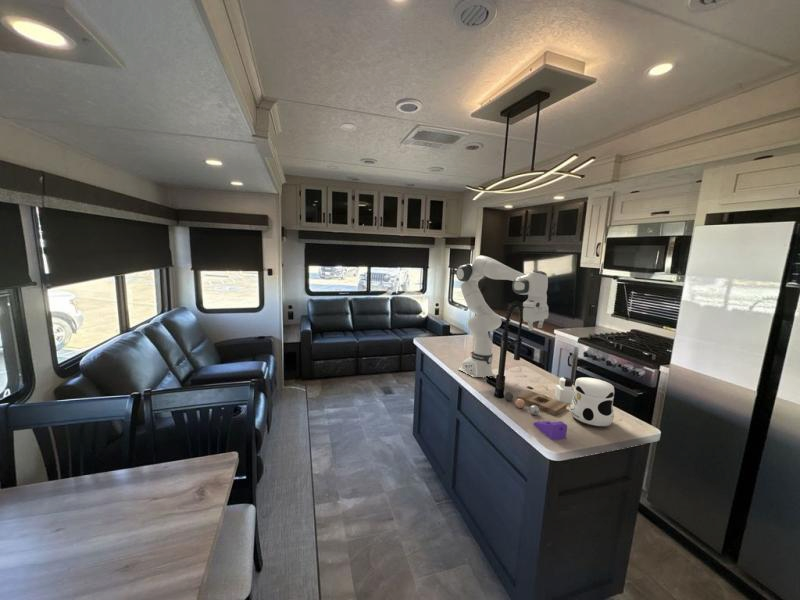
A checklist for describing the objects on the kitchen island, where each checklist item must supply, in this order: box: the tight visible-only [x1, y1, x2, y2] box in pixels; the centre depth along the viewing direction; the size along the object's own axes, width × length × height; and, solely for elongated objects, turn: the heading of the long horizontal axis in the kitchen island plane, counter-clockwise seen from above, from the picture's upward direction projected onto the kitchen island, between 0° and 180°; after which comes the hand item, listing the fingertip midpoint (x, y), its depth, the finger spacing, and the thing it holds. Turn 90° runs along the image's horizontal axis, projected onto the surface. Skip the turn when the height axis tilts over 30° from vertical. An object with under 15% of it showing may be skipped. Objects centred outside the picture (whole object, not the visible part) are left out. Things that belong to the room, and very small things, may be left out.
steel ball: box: [529, 405, 540, 416], centre depth 152 cm, size 4×4×4 cm
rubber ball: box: [504, 391, 514, 401], centre depth 167 cm, size 4×4×4 cm
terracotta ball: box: [514, 398, 526, 409], centre depth 159 cm, size 4×4×4 cm
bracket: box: [533, 420, 568, 441], centre depth 138 cm, size 12×7×7 cm, turn 13°
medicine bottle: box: [554, 376, 574, 404], centre depth 168 cm, size 7×7×12 cm
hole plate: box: [516, 389, 568, 416], centre depth 163 cm, size 20×12×2 cm, turn 40°
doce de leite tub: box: [569, 377, 615, 428], centre depth 147 cm, size 17×17×18 cm
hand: (535, 329), depth 165 cm, fingers open, 8 cm apart
